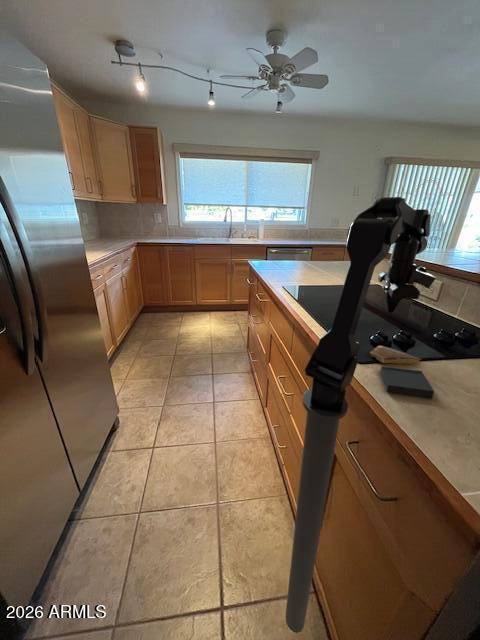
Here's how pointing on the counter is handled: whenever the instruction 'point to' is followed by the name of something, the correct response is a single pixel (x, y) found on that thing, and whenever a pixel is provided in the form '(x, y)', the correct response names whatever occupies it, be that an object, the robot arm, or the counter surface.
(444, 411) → the counter surface
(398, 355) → the sandwich half
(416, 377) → the black pad
